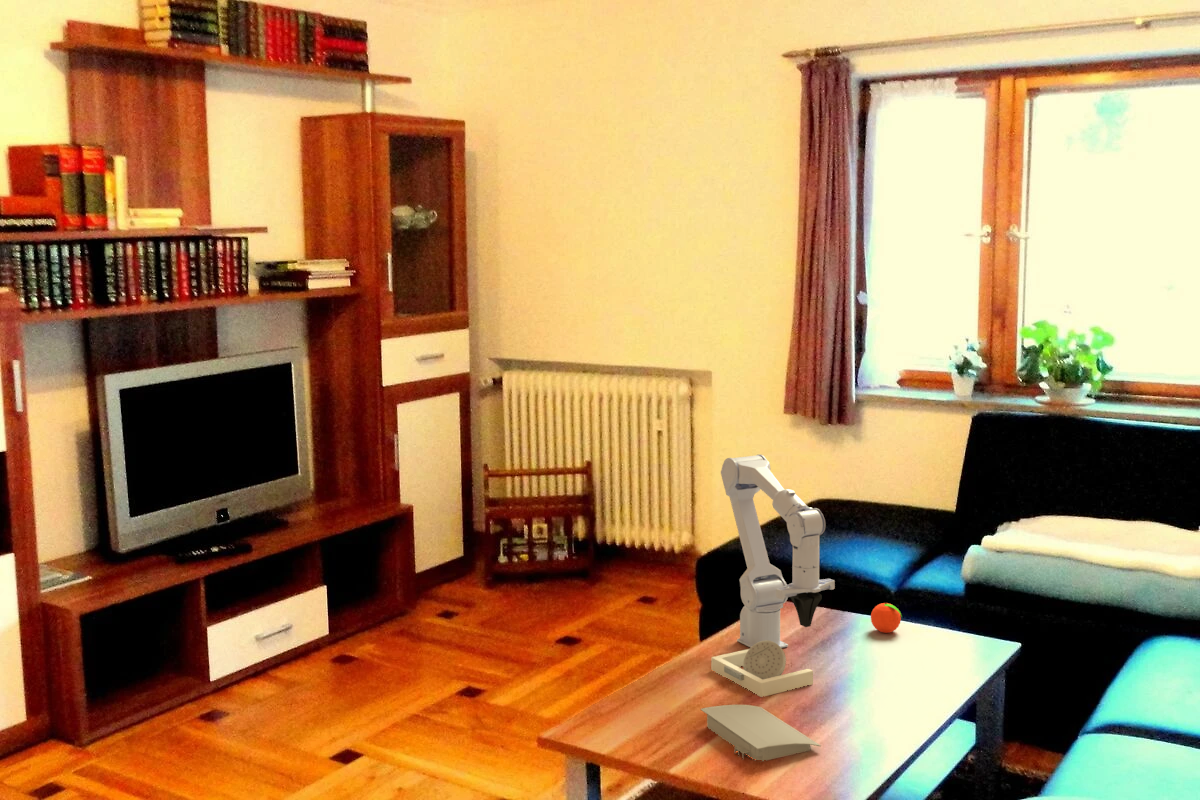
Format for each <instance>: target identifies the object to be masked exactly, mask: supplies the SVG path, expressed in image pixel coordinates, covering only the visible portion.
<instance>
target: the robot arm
mask: <svg viewBox="0 0 1200 800" xmlns="http://www.w3.org/2000/svg"><path fill="white" fill-rule="evenodd" d="M720 475H721V480H722V484H723V487H724V488H723V489H724V490H725V494H726V496H727V497H729V500H730V501H729V502H730V504H731V508H732V513H733V517H734V521H735V524H736V525H735V526H736V528H737V532H738V536H739V540H740V545H741V547H742V553H743V556H744V560H745V564H746V567H747V568H746V570H745V571H744V572H743V574H742V575H741V576H740V578H739V579H738V580H739V587H740V599H741V602H742V603H743V605H744V606H743V607H742V609H741V611H740V613H739V638H736V641H737V642H738V643H740V644H742V645H744V646H746V647H749V649H750V648H751V647H752V646H753V645H754V644H756V643H758V642H760V641H765V640H768V641H773V642H775V643H776V644H778V645H779V646H780V647H781V648H782V649H783V648H786V647H789V644H788V643H786V642H784V641H782V640H781V609H783V608H784V604H785V603H786V602H787V600H788V598H790V599H791V601H792V604H793V605H794V607H795V611H796V614H797V617H798V620H799V625H800V626H802V627H804V628H808V627H811V626H812V622H813V619H814V615H815V613H816V609H817V608H818V606H819V604H820V602H821V601H822V594H821V593H819V592H821V591H825V590H831V591H832V590H834V589H836V588H835V587H836V586H835V585H836V584H835V582H836V581H835V579H831V578H825V579H824V578H823V579H820V536H821V535H822V534H823V533H824V532H825V530H826V519H825V517H824V514H823V513H822V511H821V510H820V509H819V508H817V507H814V508H813V507H809V506H808V505H807V504H806V503H805V502H804V500H803V499H802V498H800V496H798V495H797V494H796V492H795V490H794V489H790V488H786V489H785V488H784V487H783V486H782V484H781V483H780V482H779V480H778V479H777V478H776V477H775V475H774V473H773V472H772V471H771V463H770V461H769V460H768V459H767V458H766V457H765V455H763V454H756V455H749V456H748V455H747V456H739V457H727V458H725V459H724V461H723V462H722V466H721V470H720ZM760 490H761V491H762V492H763V493H764V494H766V495H767V496H768V497H769V498H770V499H771V500H772V504H771V505H772V507H773V509H774V510H775V511H776V512H777V514H778V515H779V516H780V517H781V518H782V519H783V520H784V521H785V522H786V527H787V531H788V534H789V542H790V544H791V545H792V567H791V568H792V572H791V573H792V575H791V576H792V582H791V583H789V584H787V582H786V581H785V579H784V577H783V574H782V570H781V569H779V568H778V567H776V566H775V565H773V564H771V563H770V559H769V557H768V556H769V555H768V551H767V548H766V544H765V540H764V537H763V536H764V535H763V532H762V529H761V525H760V521H759V517H758V514H757V509H756V505H755V501H754V497H755V494H758V493H759V492H760Z"/></svg>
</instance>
